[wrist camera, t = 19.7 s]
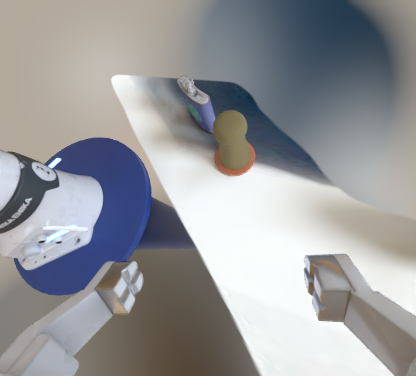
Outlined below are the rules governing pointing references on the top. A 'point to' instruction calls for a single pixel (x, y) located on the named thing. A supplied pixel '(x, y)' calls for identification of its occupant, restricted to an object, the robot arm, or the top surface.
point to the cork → (232, 139)
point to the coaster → (235, 172)
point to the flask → (197, 104)
